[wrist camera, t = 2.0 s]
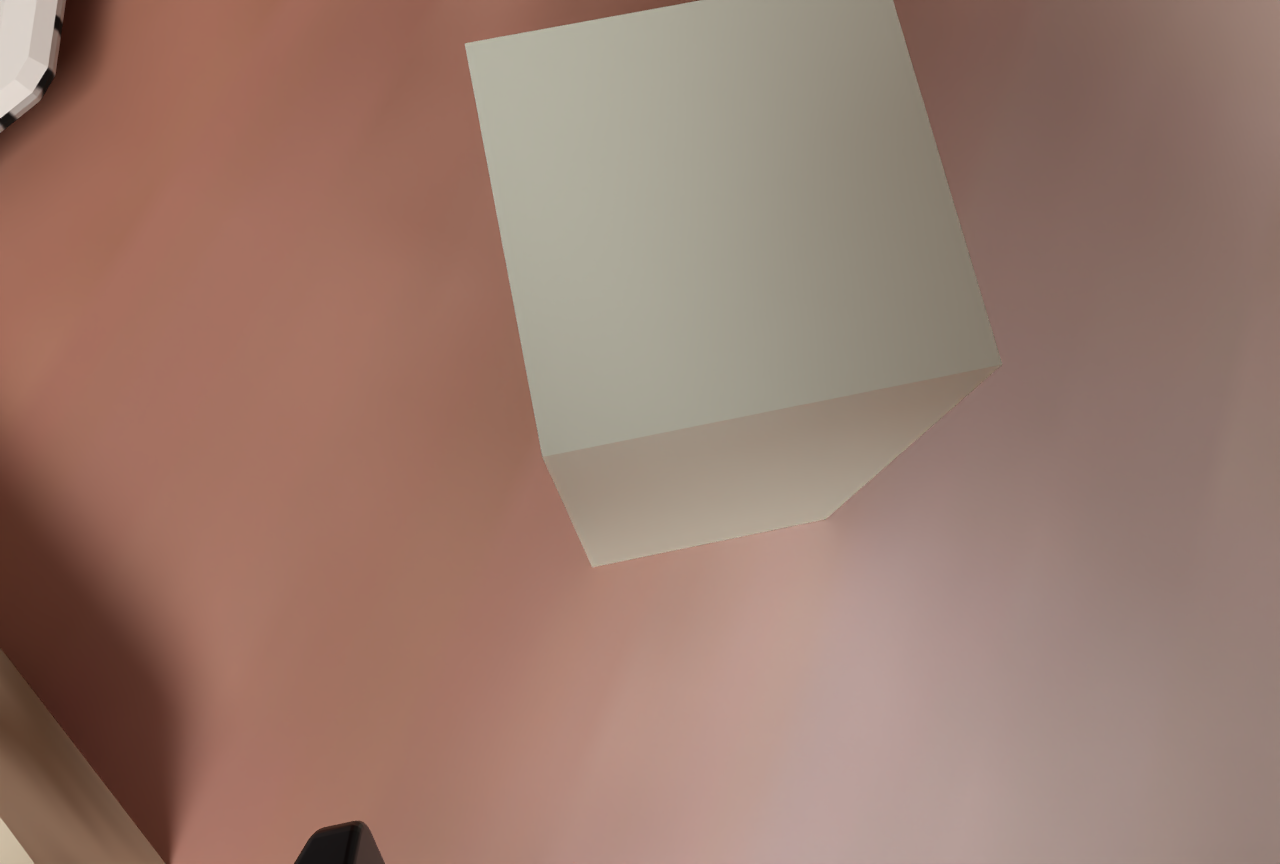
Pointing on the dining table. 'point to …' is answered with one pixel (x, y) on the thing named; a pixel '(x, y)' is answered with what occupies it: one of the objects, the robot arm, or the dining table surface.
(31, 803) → the maple block
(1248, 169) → the dining table surface
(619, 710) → the dining table surface
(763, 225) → the sage block
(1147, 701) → the dining table surface
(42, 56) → the plate
